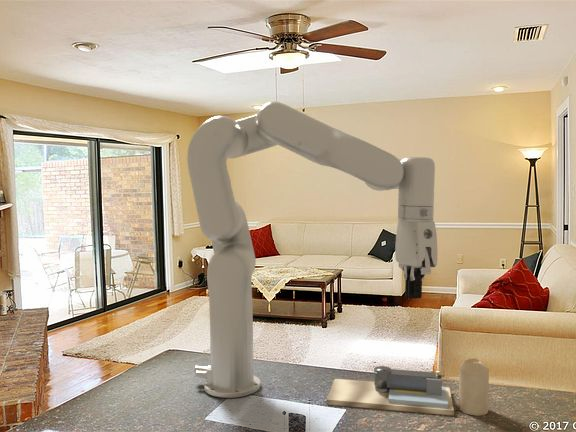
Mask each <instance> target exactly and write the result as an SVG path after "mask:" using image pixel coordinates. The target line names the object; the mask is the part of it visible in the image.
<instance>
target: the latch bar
mask: <svg viewBox="0 0 576 432" xmlns="http://www.w3.org/2000/svg"><path fill="white" fill-rule="evenodd" d="M373 368H374V369H373V373H374V375H373V378H374V379H373V382H374V385H375V387H381V388H397V389H409V390H420V391H426V378H435V379H442V378H444V377H445V374H446V372H445V370H443V369H436V370H435V372H433V371H422V370H419V371H418V370H410V369H407V370H406V369H398V368H397V369H395V368H391V367H389V366H385V365H380V366H379V365H378V366H375V367H373Z"/></svg>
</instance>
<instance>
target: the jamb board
mask: <svg viewBox="0 0 576 432" xmlns="http://www.w3.org/2000/svg"><path fill="white" fill-rule="evenodd" d="M444 387H445V388H446V394H447V400H448V408H443V407H431V406H420V405H408V404H396V403H389V392H388V393H380V392H377V391H376V390H375V385H374V381H371V380H370V381H369V380H368V381H367V380H358V379H357V380H354V379H343V378H334V380H333V382H332V384H331V388H330V390H329V392H328V394H327V397H326V398H325V399H326V402H325V403H326V405H331V406H332V405H333V406H340V407H341V406H342V407H353V408H366V409H376V410H387V411H397V412H399V411H400V412H410V413H411V412H412V413H420V414H430V415H431V414H432V415H434V414H435V415H443V416H444V415H445V416H455V410H454V403H453V399H452V393H451V388H450V387H448V386H444Z"/></svg>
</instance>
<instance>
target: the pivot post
mask: <svg viewBox="0 0 576 432" xmlns="http://www.w3.org/2000/svg"><path fill="white" fill-rule="evenodd" d="M375 390H376V391H377V392H380V393H388V392H389V390H390V388H381V387H375Z"/></svg>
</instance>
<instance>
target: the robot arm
mask: <svg viewBox="0 0 576 432" xmlns="http://www.w3.org/2000/svg"><path fill="white" fill-rule="evenodd" d="M275 146H280V147H282V148H284V149H286V150H288V151H290V152H292V153H294V154H297V155H298V156H301V157H303V158H304V159H306V160H309V161H311V162H313V163H315V164H318V165H320V166H322V167H323V166H325V167H329V168H331V169H332V168H333V169H336V170H338V171H340V172H343V173H346V174H348V175H350V176H352V177H354V178H357V179H358V180H360V181H363V182H364V184H365V185H366V186H367V187H369V188H370V189H372V190H373V191H380V192H381V191H390V190H397V189H398V195H397V196H398V198H397V199H398V200H397V201H398V202H397V203H398V204H397V208H398V209H397V227H396V233H395V234H396V235H395V247H394V251H395V252H394V253H395V255H394V256H395V261H396V262H397V263H398V267H399V268H400V269H401V270H402V271H403V278H404V279H405V282H404V284H405V288H404V297H405V298H407V299H409V300H411V299H412V300H414V299H421V298H422V295H423V293H422V291H423V281H424V280H425V275H426V276H427V275H430V274H431V273H432V269H431V268H435V267H436V266H437V265H438V236H437V227H436V223H435V221H434V214H435V213H434V206H435V176H436V173H435V171H436V170H435V169H436V164H435V161H434V160H433V158H430V157H423V156H411V157H405V158H402V159H401V158H398V157H397V156H396V155H394V154H392V153H390V152H388V151H386V150H385V149H382V148H380V147H378V146H376V145H374V144H371V143H369V142H367V141H366V140H363V139H360V138H359V137H355V136H353V135H350V134H349V133H346V132H344V131H342V130H340V129H337V128H334V127H333V126H331V125H328V124H326V123H324V122H322V121H321V120H318V119H316V118H314V117H312V116H310V115H308V114H305V113H303V112H301V111H299V110H297V109H296V108H294V107H291V106H289V105H287V104H285V103H281V102H279V101H269V102H267V103H264V104H263V105H262V106H261V107H260V108H259V109H258V111H257V113H256V114H254V115H251V116H248V117H244V118H240V119H237V120H235V119H234V118H232V117H230V116H227V115H215V116H213V117H211V118H209V119H207V120H206V121H203V123H202V124H201V125H200V126H198V128H197V129H196V130H195V131H194V133H193V134H192V136H191V139H190V141H189V145H188V148H187V153H186V156H187V157H186V159H187V169H188V174H189V178H190V183H191V188H192V192H193V198H194V202H195V207H196V211H197V212H196V213H197V217H198V222H199V226H200V230H201V232H202V233H203V235H204V237H206V238H207V239H208V240H210V241H211V246H212V249H213V253H214V254H213V255H212V256H211V258H210V260H209V262H208V266H207V269H206V270H207V271H206V281H207V283H206V284H207V290H208V291H207V293H208V301H209V303H208V305H209V309H208V310H209V339H210V340H209V343H210V344H209V345H210V346H209V347H210V348H209V349H210V354H209V355H210V365H208V366H204V365H195V367H194V375H195V378H198V379H200V378H204V379H205V382H204V384H203V390H204V391H205V393H206V394H207V395H210V396H213V397H217V398H223V399H224V398H225V399H227V398H229V399H230V398H231V399H233V398H234V399H235V398H241V397H246V396H249V395H252V394H254V393H256V392H257V391H258V390H260V388H261V387H262V385H261V379H260V378H259V377H258V376H257V375H255V374H254V327H253V326H254V322H253V321H254V319H253V316H254V315H253V314H254V313H253V290H252V289H253V288H252V277H253V274H254V272H255V268H256V266H257V263H256V262H257V259H256V254H255V249H254V246H253V241H252V237H251V233H250V229H249V224H248V220H247V215H246V213H245V211H244V208H243V207H242V206H241V205H240V204H239V203H238V202H237V201H236V199H235V197H234V192H233V189H232V188H233V187H232V183H231V182H232V181H231V178H230V177H231V176H230V174H229V171H228V166H227V165H228V164H227V160H228V159H236V158H240V157H244V156H246V155H251V154H253V153H256V152H260V151H263V150H266V149H271V148H273V147H275Z"/></svg>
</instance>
